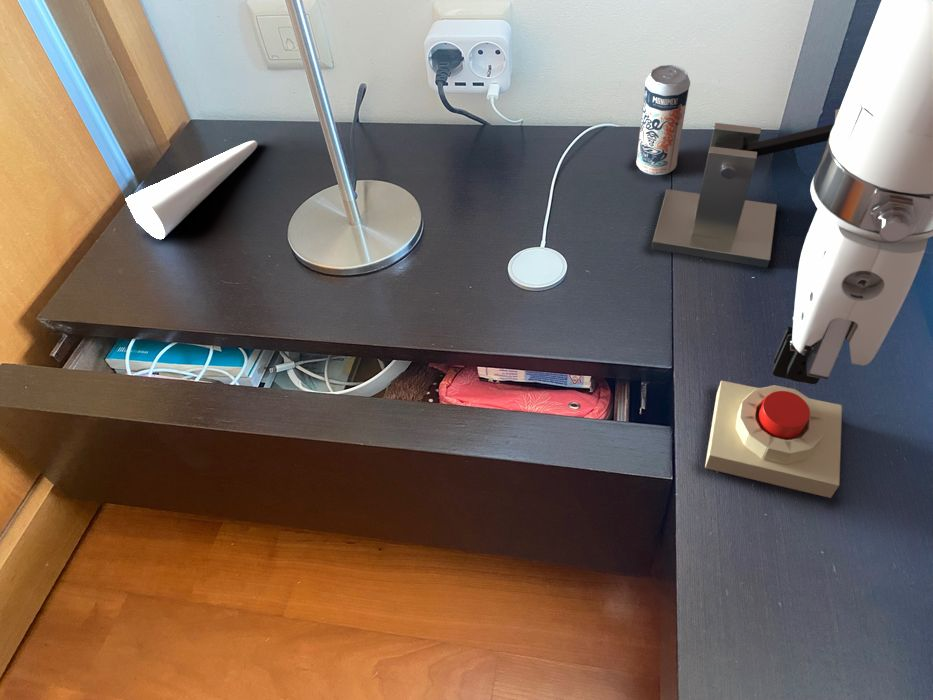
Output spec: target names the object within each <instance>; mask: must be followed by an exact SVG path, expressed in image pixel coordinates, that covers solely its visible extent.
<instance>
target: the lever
mask: <svg viewBox="0 0 933 700" xmlns="http://www.w3.org/2000/svg"><path fill="white" fill-rule="evenodd" d="M839 110H840V108H838V109H835V115H834V122H835V121H836V118H837V115H838V112H839ZM833 125H834V123H832V124H827V125H823V126H819V127H816V128H815V127H814V128H811V129H807V130H802V131H798V132H794V133H790V134H785V135H780V136H777V137H772V138H769V139H764V140H758V142H755V143H751V144H747V143H746V139H745V136H740V137H736V138H732V139H728V140H723V141H719V142H716V143H715V147H720V148H728V149H737V150H745V151H753V152H757V157H761V156H767V155H770V154H775V153H779V152H784V151H788V150H793V149H798V148H801V147H806V146H810V145H816V144H819V143H824V142H827V141H828V138H829V136H830V133H831V131H832V128H833Z"/></svg>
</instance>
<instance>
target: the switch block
mask: <svg viewBox="0 0 933 700" xmlns="http://www.w3.org/2000/svg"><path fill="white" fill-rule="evenodd" d="M776 391H788V392H791V393H794V394H796V395H798V396H800V397H801V398H802V399H803V400H804V401H805V402H806V403H807V405H808V407H809V410H810V417H809V419H808V421H807V423H806V425H805V427H804V429H803V431H802V432H801V433H800V434H799V435H798V436H796V437H794V438H790V439H782V438H777V437H774V436H772V435H770V434H769V433H767V432H766V431H765V430H764V429H763V428H762V426H761V425H760V423H759V419H758V414H759V411H760V409H761V406H762V404H763V401H764V399H765V398H766V397H767V396H768V395H769V394H771V393H773V392H776ZM842 418H843V405H842V404H839V403H833V402H829V401H823V400H819V399H814V398H810V397H808V396H806V395H805V394H803V393H802V392H800V391H799V390H797V389H796V388H790V387H785V386H781V385H774V384H773V385H769V386H764V387H755V386H751V385H746V384H741V383H736V382H731V381H727V380H720V382H719V386H718V388H717V392H716V396H715V402H714V410H713V415H712V421H711V428H710V433H709V440H708V445H707V452H706V457H705V464H704V468H705V469H707V470H711V471H714V472H715V471H716V472H721V473H725V474H727V475H733V476H735V477H736V476H737V477H740V478H746V479H750V480H753V481H758V482H762V483H766V484H771V485H773V486H778V487H783V488H786V489H791V490H795V491H799V492H804V493H808V494H812V495H816V496H821V497H825V498H829V499H832V497H833V495H834V494H835V492H836V491H837V489H838V488H839V487H840V477H841V475H840V473H841V450H842V449H841V448H842V420H843V419H842Z"/></svg>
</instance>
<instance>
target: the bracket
mask: <svg viewBox="0 0 933 700" xmlns="http://www.w3.org/2000/svg"><path fill="white" fill-rule="evenodd" d="M761 133H762V128H761V127H756V126H747V125H738V124H730V123H720V122H715V123H714V125H713V131H712V135H711V141H710V145H709V149H708V153H707V158H706V161H705V162H706V163H705V168H704V173H703V176H702V183H701V187H700V191H699V192H698V193H697V192H689V191H683V190H677V189H676V190H675V189H668V188H667V189H665V193H664V197H663V200H662V204H661V208H660V211H659V212H660V213H659V216H658V220H657V223H656V227H655V231H654V235H653V238H652V242H651V250H656V251H661V252H668V253H673V254H678V255H679V254H680V255H686V256H691V257H699V258H705V259H710V260H717V261H723V262H729V263H735V264H742V265H747V266H755V267H760V268H764V269H765V268H766V269H767V268H768V267H769V265H770V261H771V257H772V248H773V240H774V231H775V224H776V215H777V208H778V205H777V203H769V202H762V201H754V200H748V199H747V195H748V191H749V188H750V184H751V180H752V176H753V172H754V169H755V165H756V162H757V157H758V156H757V152H753V151H745V150H737V149H728V148H720V147H715V143H716V142H719V141H723V140H728V139H732V138H736V137H740V136H745V139H746V143H747V144H751V143H755V142H759V141H760V137H761Z"/></svg>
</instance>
